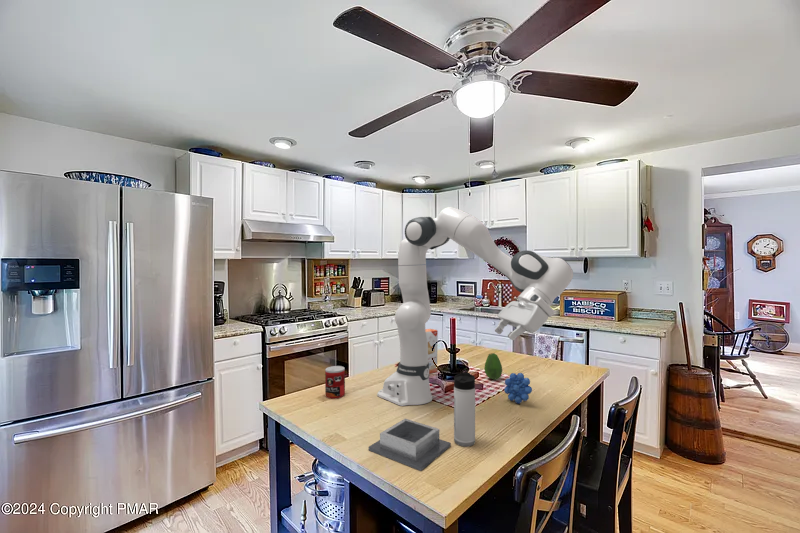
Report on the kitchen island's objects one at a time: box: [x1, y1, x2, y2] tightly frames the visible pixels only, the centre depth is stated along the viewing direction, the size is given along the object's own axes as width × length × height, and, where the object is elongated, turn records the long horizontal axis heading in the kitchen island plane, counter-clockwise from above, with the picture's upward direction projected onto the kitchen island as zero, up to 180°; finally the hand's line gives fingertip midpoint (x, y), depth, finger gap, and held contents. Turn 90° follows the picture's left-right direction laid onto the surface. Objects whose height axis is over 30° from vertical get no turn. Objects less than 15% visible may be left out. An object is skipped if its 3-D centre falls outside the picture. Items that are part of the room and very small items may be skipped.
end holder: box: [368, 418, 452, 472], centre depth 107 cm, size 18×16×5 cm
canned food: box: [324, 365, 346, 400], centre depth 150 cm, size 8×8×11 cm
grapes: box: [503, 372, 533, 405], centre depth 141 cm, size 12×7×12 cm, turn 41°
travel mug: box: [453, 372, 476, 448], centre depth 111 cm, size 6×7×20 cm
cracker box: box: [425, 328, 439, 375], centre depth 179 cm, size 14×6×21 cm, turn 128°
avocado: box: [484, 353, 503, 381], centre depth 170 cm, size 8×8×12 cm
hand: (503, 335), depth 113 cm, fingers open, 8 cm apart
